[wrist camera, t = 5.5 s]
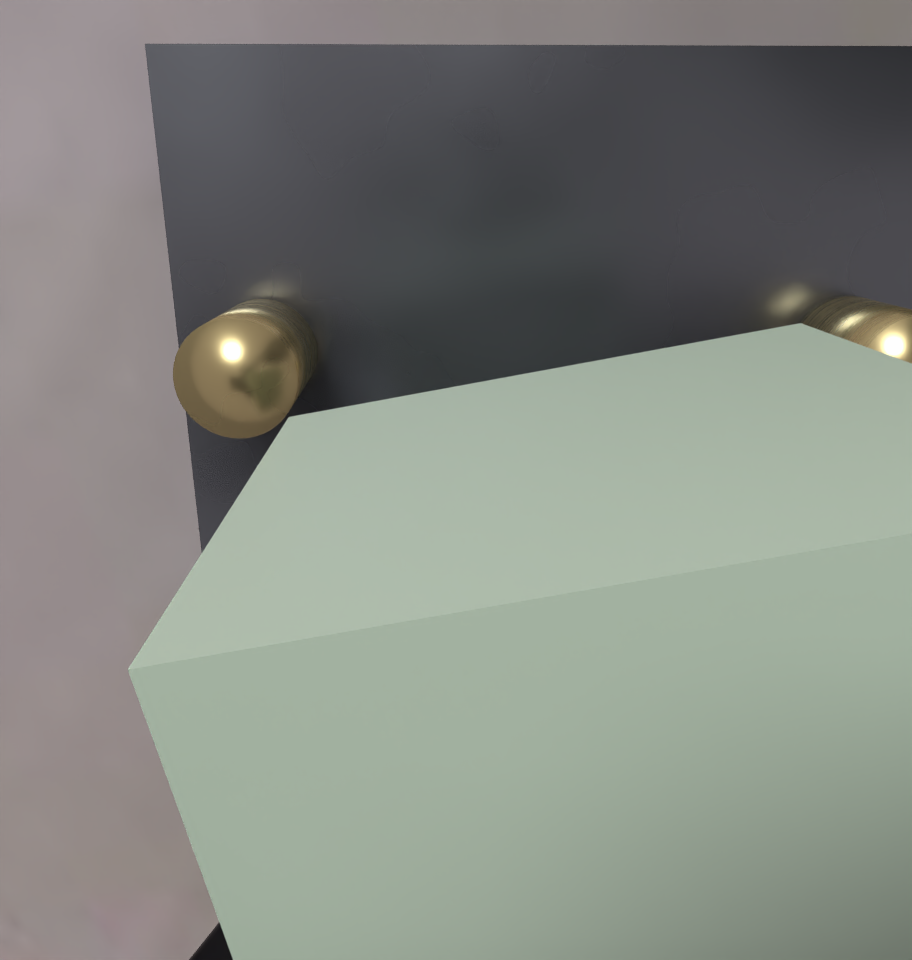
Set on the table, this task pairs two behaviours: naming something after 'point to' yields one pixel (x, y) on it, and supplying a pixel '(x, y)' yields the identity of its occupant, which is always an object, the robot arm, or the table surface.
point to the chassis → (510, 216)
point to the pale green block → (561, 667)
